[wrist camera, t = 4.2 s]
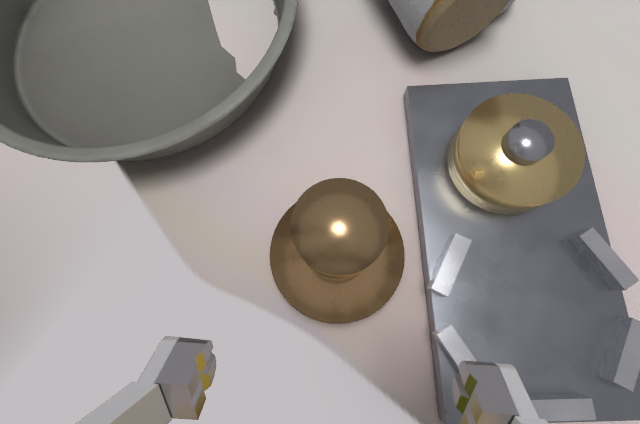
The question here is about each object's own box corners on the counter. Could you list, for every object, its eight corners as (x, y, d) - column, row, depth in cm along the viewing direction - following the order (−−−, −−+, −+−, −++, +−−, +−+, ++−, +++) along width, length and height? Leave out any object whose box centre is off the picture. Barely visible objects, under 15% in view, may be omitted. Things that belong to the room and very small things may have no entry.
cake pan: (126, 256, 22) (76, 246, 18) (-58, 50, 27) (-133, 3, 23) (368, 29, 26) (375, -25, 22) (169, -117, 31) (142, -184, 27)
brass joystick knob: (275, 323, 21) (226, 346, 11) (275, 200, 23) (233, 130, 13) (403, 318, 21) (466, 337, 11) (392, 195, 23) (436, 119, 13)
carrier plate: (435, 418, 19) (466, 454, 15) (400, 96, 24) (415, 52, 20) (639, 412, 19) (734, 447, 14) (559, 88, 24) (611, 40, 20)
